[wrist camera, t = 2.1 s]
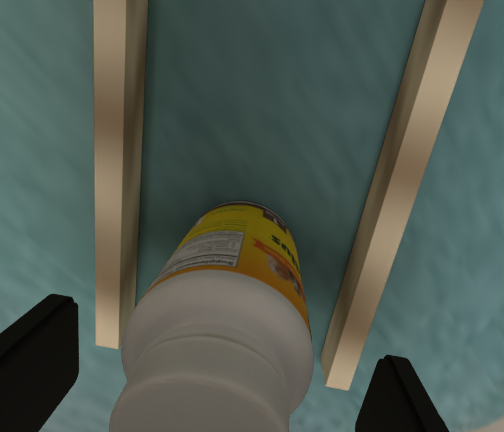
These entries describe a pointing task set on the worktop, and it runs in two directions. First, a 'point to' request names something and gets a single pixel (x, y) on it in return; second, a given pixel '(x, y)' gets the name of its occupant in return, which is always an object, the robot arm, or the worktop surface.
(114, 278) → the wooden frame
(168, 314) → the supplement bottle
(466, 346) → the worktop surface
